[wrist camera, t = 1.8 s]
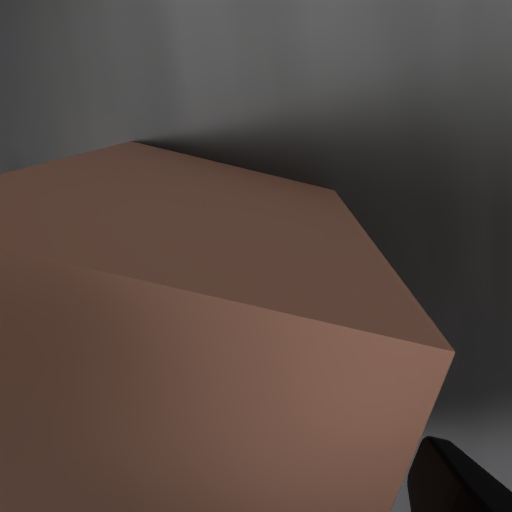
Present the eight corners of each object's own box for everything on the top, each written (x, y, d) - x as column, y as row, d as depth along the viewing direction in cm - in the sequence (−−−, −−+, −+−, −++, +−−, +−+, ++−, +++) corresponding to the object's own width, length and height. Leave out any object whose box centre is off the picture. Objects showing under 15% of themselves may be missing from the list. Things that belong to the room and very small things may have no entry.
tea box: (334, 189, 12) (455, 352, 4) (266, 426, 14) (260, 830, 6) (125, 139, 11) (-172, 208, 4) (88, 387, 13) (-149, 755, 6)
